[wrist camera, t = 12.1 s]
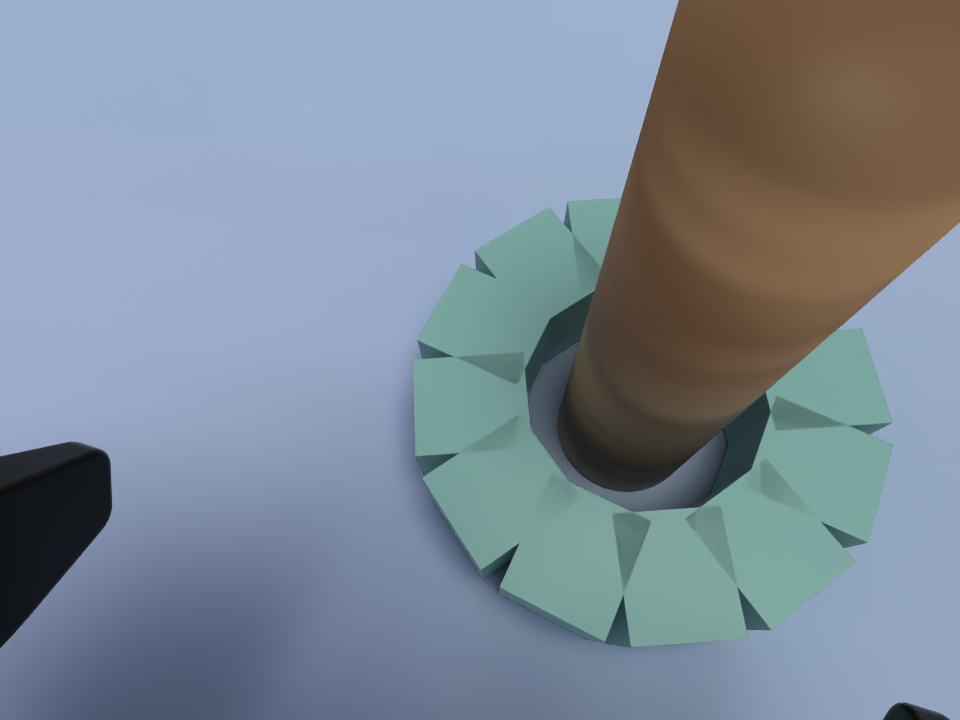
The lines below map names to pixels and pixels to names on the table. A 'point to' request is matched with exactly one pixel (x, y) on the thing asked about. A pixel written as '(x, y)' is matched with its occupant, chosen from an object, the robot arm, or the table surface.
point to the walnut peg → (760, 214)
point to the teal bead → (609, 527)
